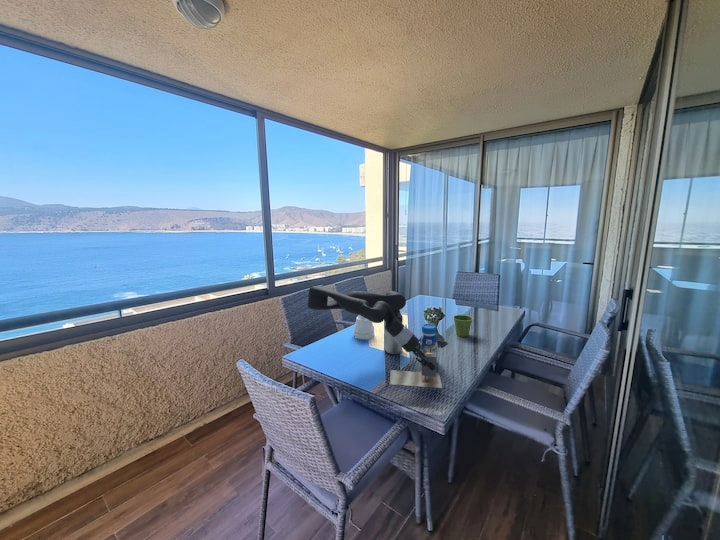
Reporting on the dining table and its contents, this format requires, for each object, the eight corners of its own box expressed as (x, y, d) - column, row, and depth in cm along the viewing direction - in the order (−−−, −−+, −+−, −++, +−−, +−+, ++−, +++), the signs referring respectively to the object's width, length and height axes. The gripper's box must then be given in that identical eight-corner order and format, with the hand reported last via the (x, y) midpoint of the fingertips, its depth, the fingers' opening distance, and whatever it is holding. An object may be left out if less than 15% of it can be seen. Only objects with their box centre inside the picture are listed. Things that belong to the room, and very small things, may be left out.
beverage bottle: (424, 358, 150) (425, 321, 147) (439, 363, 145) (441, 325, 141) (416, 364, 143) (417, 326, 140) (432, 370, 138) (433, 330, 135)
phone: (424, 335, 178) (447, 342, 169) (424, 337, 179) (447, 343, 169) (418, 339, 173) (441, 346, 163) (418, 341, 173) (441, 348, 163)
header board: (389, 387, 124) (389, 377, 123) (390, 373, 136) (390, 364, 135) (442, 391, 121) (442, 381, 120) (438, 376, 133) (439, 367, 132)
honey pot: (377, 337, 178) (377, 309, 175) (358, 341, 173) (357, 312, 170) (369, 330, 190) (369, 304, 187) (350, 333, 185) (350, 306, 182)
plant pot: (469, 331, 186) (470, 314, 184) (474, 338, 175) (475, 321, 173) (450, 331, 187) (451, 314, 186) (454, 338, 176) (455, 320, 174)
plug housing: (421, 375, 125) (422, 354, 124) (421, 370, 129) (421, 350, 128) (435, 376, 124) (436, 355, 123) (434, 371, 128) (435, 351, 127)
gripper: (399, 337, 134) (425, 364, 134) (399, 351, 120) (428, 380, 120) (411, 327, 132) (438, 354, 132) (412, 339, 118) (442, 369, 118)
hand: (433, 366), depth 126 cm, fingers closed on plug housing, 4 cm apart
